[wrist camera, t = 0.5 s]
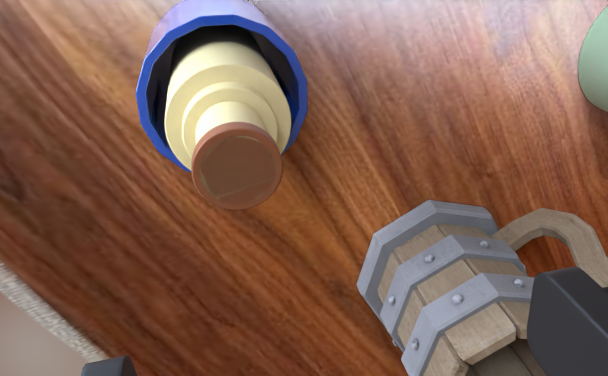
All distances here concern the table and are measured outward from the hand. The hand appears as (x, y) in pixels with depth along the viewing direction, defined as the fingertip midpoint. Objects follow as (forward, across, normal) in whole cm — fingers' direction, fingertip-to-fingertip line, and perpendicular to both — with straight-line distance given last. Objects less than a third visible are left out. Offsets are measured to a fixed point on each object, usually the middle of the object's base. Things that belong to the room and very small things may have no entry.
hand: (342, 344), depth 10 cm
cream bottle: (+28, +2, +2) cm, 28 cm away
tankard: (+28, -17, +20) cm, 39 cm away
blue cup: (+28, +2, +2) cm, 28 cm away
